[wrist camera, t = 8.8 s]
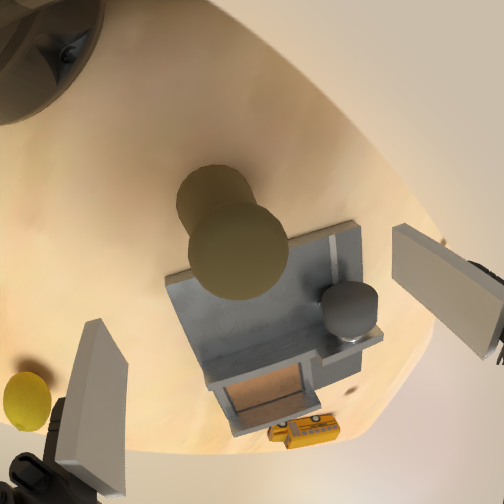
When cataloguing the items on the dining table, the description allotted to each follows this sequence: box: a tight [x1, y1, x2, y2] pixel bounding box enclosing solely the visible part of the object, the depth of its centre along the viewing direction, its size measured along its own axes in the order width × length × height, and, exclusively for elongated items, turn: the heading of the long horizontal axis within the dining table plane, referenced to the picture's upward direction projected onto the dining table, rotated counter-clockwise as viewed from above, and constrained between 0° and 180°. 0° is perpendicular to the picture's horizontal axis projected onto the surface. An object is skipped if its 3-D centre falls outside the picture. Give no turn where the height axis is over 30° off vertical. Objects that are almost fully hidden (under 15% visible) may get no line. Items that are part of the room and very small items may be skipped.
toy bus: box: [268, 415, 340, 449], centre depth 39 cm, size 3×10×4 cm, turn 81°
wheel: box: [322, 281, 378, 338], centre depth 27 cm, size 3×5×5 cm, turn 102°
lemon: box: [3, 372, 51, 432], centre depth 24 cm, size 6×6×8 cm
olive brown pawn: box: [176, 165, 289, 300], centre depth 20 cm, size 6×6×11 cm
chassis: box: [165, 220, 384, 437], centre depth 29 cm, size 20×18×6 cm
